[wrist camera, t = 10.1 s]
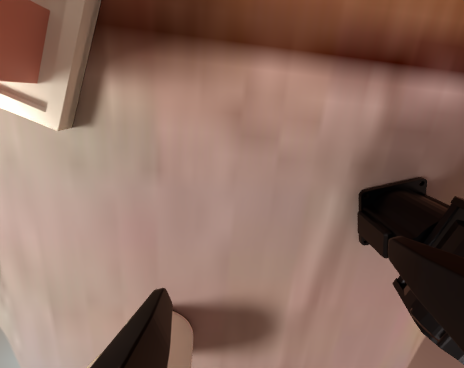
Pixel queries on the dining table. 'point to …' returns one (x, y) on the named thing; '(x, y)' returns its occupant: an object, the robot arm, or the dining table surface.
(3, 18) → the two tone block
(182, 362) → the mug
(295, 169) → the dining table surface
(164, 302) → the robot arm
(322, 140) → the dining table surface
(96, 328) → the dining table surface
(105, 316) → the dining table surface
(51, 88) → the white tray
